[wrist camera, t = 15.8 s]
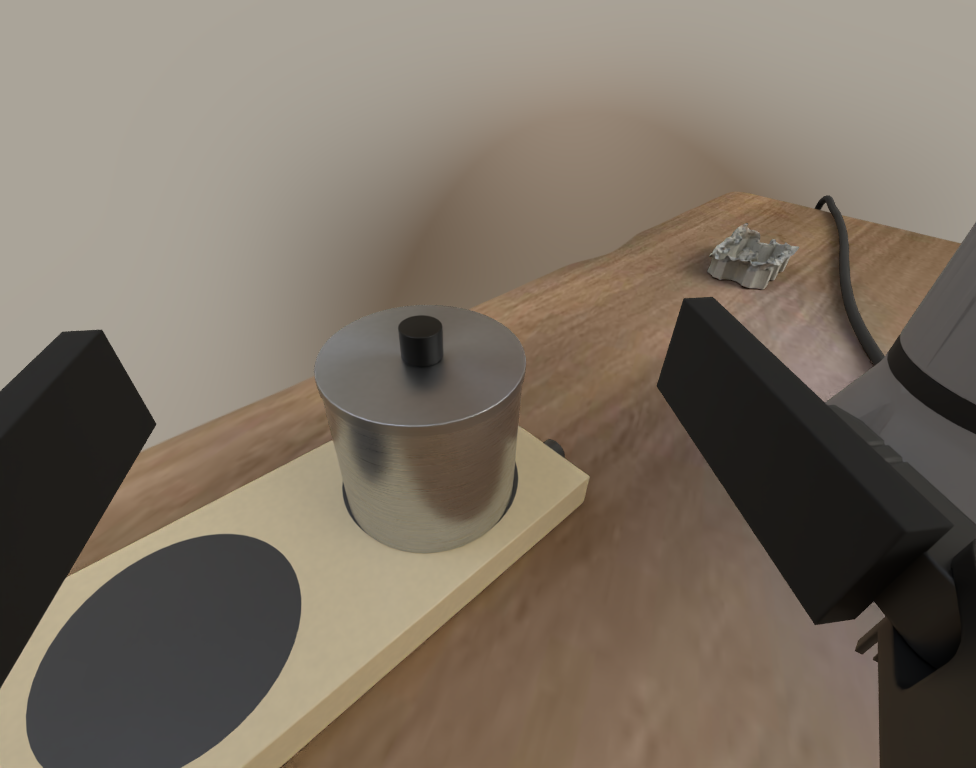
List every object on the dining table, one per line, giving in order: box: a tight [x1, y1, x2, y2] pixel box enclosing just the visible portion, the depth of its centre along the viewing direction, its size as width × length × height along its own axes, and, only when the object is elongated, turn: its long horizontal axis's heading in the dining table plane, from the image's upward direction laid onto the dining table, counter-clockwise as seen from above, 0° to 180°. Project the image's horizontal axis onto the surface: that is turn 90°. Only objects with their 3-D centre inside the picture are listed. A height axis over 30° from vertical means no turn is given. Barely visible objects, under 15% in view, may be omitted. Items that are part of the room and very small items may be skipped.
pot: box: [314, 305, 526, 553], centre depth 25 cm, size 10×10×11 cm
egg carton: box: [707, 223, 799, 289], centre depth 57 cm, size 11×8×4 cm
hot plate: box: [0, 425, 589, 768], centre depth 26 cm, size 29×13×2 cm, turn 133°
